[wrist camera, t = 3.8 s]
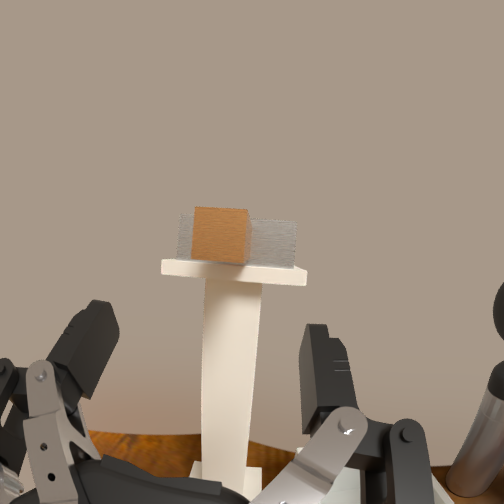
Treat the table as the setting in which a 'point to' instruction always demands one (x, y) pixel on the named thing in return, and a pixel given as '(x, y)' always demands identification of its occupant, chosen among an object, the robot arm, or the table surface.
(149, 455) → the table surface
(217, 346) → the stand
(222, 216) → the metal head mallet
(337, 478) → the box
